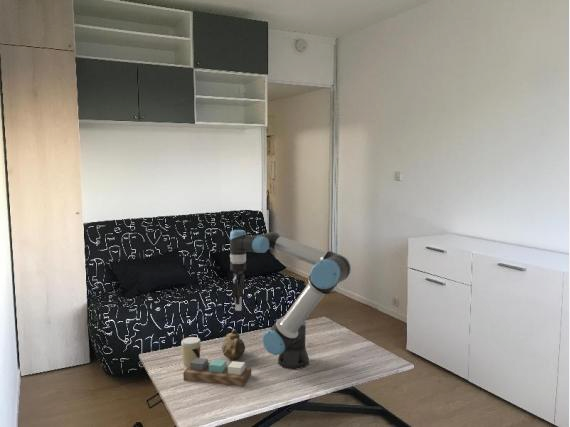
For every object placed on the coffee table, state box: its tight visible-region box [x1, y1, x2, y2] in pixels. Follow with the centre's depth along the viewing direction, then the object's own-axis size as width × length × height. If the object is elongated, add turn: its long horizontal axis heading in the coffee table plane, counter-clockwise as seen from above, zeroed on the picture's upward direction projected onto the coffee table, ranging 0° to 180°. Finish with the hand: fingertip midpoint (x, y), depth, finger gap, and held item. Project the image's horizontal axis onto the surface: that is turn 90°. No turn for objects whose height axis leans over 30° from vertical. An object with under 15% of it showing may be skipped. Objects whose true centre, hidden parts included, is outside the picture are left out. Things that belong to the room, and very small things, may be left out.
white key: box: [228, 360, 246, 375], centre depth 211 cm, size 6×6×5 cm
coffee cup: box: [180, 336, 202, 368], centre depth 228 cm, size 9×9×12 cm
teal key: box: [209, 359, 227, 373], centre depth 213 cm, size 6×6×5 cm
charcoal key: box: [190, 357, 209, 371], centre depth 215 cm, size 6×6×5 cm
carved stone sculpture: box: [221, 328, 246, 360], centre depth 234 cm, size 21×12×15 cm, turn 18°
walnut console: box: [183, 362, 252, 388], centre depth 213 cm, size 28×12×4 cm, turn 77°
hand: (238, 310), depth 228 cm, fingers closed
